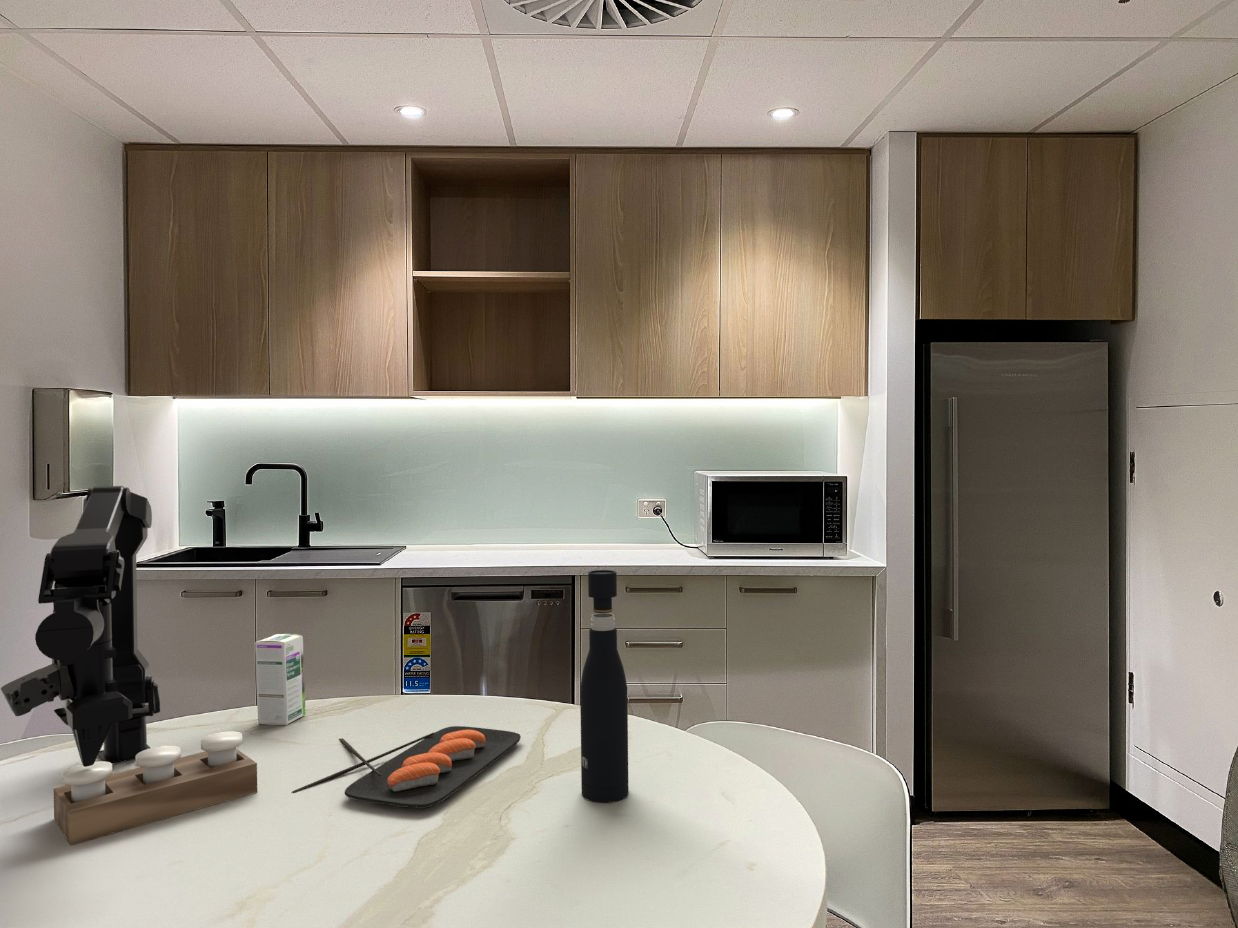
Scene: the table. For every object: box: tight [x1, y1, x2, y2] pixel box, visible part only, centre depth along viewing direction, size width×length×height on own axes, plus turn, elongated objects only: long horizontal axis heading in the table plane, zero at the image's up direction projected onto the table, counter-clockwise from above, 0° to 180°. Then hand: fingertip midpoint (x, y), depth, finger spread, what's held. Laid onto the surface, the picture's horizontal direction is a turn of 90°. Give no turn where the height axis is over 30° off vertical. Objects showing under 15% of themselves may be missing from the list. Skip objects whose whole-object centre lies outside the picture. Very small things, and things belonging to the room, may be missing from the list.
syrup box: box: [254, 633, 306, 726], centre depth 145 cm, size 6×6×14 cm
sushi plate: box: [291, 725, 521, 809], centre depth 124 cm, size 29×30×4 cm
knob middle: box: [135, 745, 182, 785], centre depth 111 cm, size 5×5×4 cm
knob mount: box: [52, 748, 258, 846], centre depth 111 cm, size 10×22×4 cm, turn 133°
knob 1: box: [62, 760, 113, 803], centre depth 105 cm, size 5×5×4 cm
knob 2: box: [200, 731, 243, 768], centre depth 116 cm, size 5×5×4 cm
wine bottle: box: [579, 569, 630, 804], centre depth 113 cm, size 6×6×30 cm
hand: (88, 765), depth 105 cm, fingers closed
